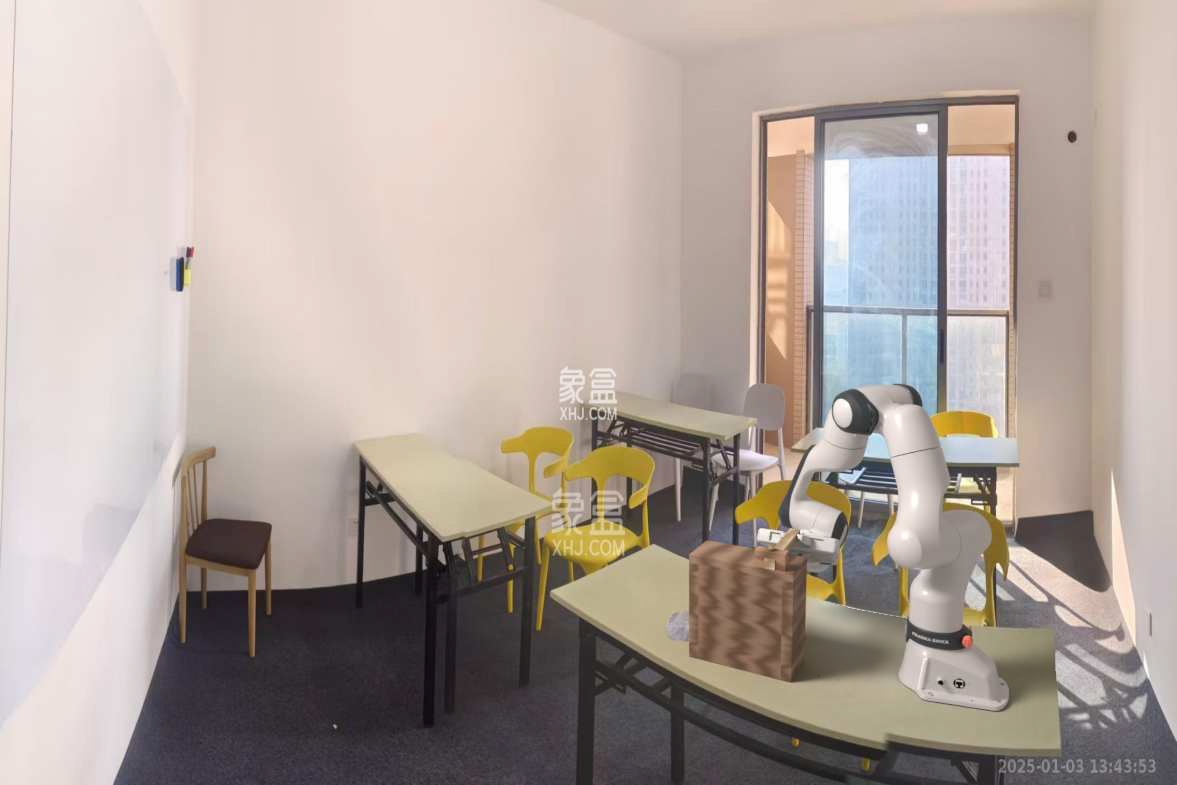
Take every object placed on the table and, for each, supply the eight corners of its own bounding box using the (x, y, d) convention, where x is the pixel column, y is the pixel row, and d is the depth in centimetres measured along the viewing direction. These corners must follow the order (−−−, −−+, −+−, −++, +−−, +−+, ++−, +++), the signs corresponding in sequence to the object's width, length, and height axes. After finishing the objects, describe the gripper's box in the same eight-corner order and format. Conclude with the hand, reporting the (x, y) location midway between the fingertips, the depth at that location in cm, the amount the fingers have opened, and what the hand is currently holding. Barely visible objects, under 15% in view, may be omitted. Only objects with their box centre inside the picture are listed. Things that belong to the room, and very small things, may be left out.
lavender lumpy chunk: (667, 647, 198) (705, 643, 196) (663, 629, 198) (702, 625, 196) (672, 628, 210) (709, 623, 208) (668, 611, 210) (705, 606, 207)
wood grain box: (804, 661, 186) (807, 557, 182) (790, 682, 177) (793, 573, 173) (706, 637, 199) (706, 540, 195) (689, 656, 190) (689, 554, 186)
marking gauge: (809, 540, 191) (809, 520, 190) (784, 572, 174) (784, 551, 173) (781, 535, 194) (781, 516, 193) (754, 566, 177) (754, 546, 176)
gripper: (767, 529, 207) (752, 517, 196) (846, 541, 196) (835, 529, 185) (763, 553, 205) (747, 542, 194) (842, 566, 195) (831, 555, 183)
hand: (791, 535), depth 189 cm, fingers closed on marking gauge, 2 cm apart
